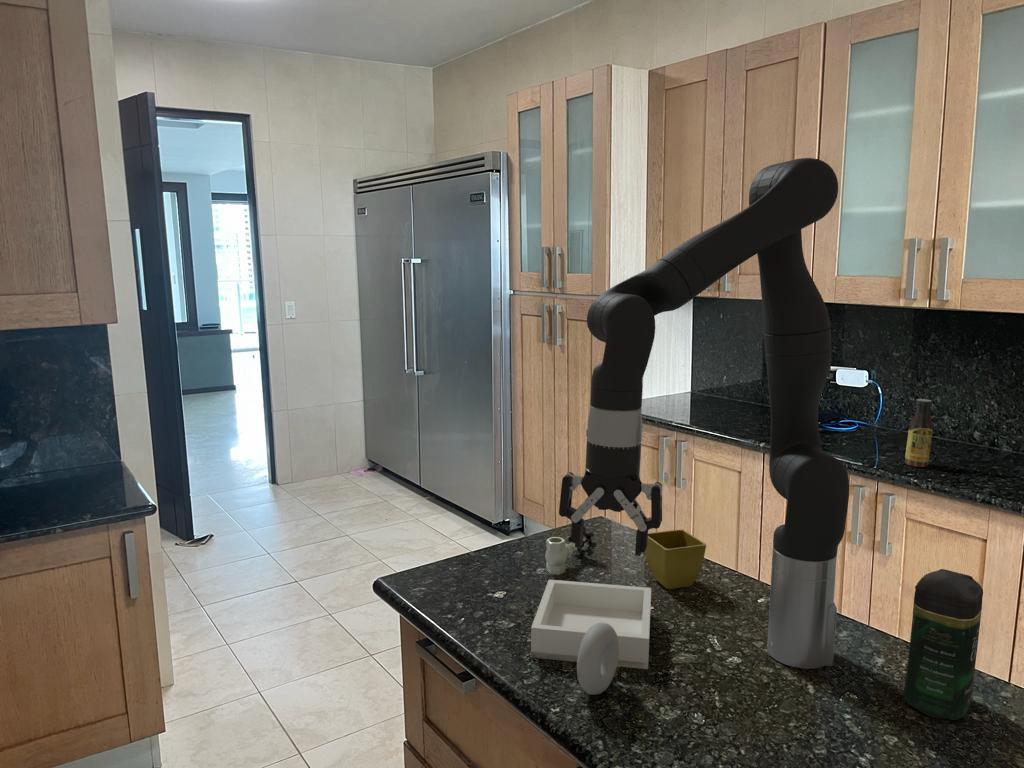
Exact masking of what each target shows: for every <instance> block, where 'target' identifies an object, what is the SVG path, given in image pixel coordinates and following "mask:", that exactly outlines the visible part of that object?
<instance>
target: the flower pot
mask: <svg viewBox="0 0 1024 768" xmlns="http://www.w3.org/2000/svg"><path fill="white" fill-rule="evenodd" d="M706 548H707V544H706V543H705V542H704V541H702V540H700V539H699V538H698V537H696V536H694V535H693V534H691V533H689V532H688V531H686V530H684V529H672V530H670V529H669V530H663V531H656V532H654V531H653V532H648V541H647V548H646V550H645V559H646V561H647V565H648V568H649V570H650V572H651V574H652V576H653V578H654V580H655V581H656V582H658V583H659V584H660V585H662V586H663V587H664V588H665V589H667V590H673V589H680V588H686V587H692V585H693V584H694V583H695V582H696V581H697V578H698V577H699V575H700V573H701V571H702V568H703V565H704V559H705V553H706Z"/></svg>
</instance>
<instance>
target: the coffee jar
mask: <svg viewBox="0 0 1024 768" xmlns="http://www.w3.org/2000/svg"><path fill="white" fill-rule="evenodd" d="M914 588H915V590H914V595H913V596H914V597H913V606H912V619H911V629H910V639H909V641H910V642H909V649H908V657H907V658H908V659H907V667H906V674H905V685H904V690H903V691H904V693H903V698H904V700H905V702H906V703H907V704H908V705H910V706H911V707H913V708H914V709H915V710H917V711H919V712H920V713H922V714H925V715H927V716H929V717H932V718H935V717H936V718H935V719H945V720H953V721H958V720H960V719H962V718H963V717H965V715H966V714H967V712H968V711H969V709H970V708H971V704H972V694H973V685H974V677H975V676H974V675H975V669H976V662H977V661H976V660H977V653H978V646H979V635H980V627H981V618H982V612H983V598H984V597H983V595H984V589H983V587H982V586H981V584H980V583H979V582H977V580H975V579H974V577H973V576H972V575H969V574H964V573H961V572H957V571H953V570H948V569H945V568H940V569H939V570H938V569H937V570H934V571H931V572H929V573H926V574H924V575H923V576H922V577H921V578H920V579H919V581H918V582H917V583H916V585H915V586H914Z"/></svg>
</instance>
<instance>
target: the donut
mask: <svg viewBox="0 0 1024 768" xmlns="http://www.w3.org/2000/svg"><path fill="white" fill-rule="evenodd" d="M618 654H619V644H618V637H617V634H616V632H615V630H614V629H613V627H612V626H611V625H609V624H607V623H600V622H599V623H596V624H594V625H593V626H591V627H590V628H589V629H588V631H587V632H586V634H585V636H584V638H583V640H582V642H581V645H580V649H579V653H578V659H577V662H576V673H577V681H578V684H579V686H580V687H581V689H582V690H583V691H584V692H585V693H586V694H588V695H594V696H595V695H601V694H602V693H603V692H605V691H606V690H607V689H608V688H609V686H610V684H611V683H612V682H613V679H614V677H615V674H616V669H617V667H618V666H617V662H618Z"/></svg>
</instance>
